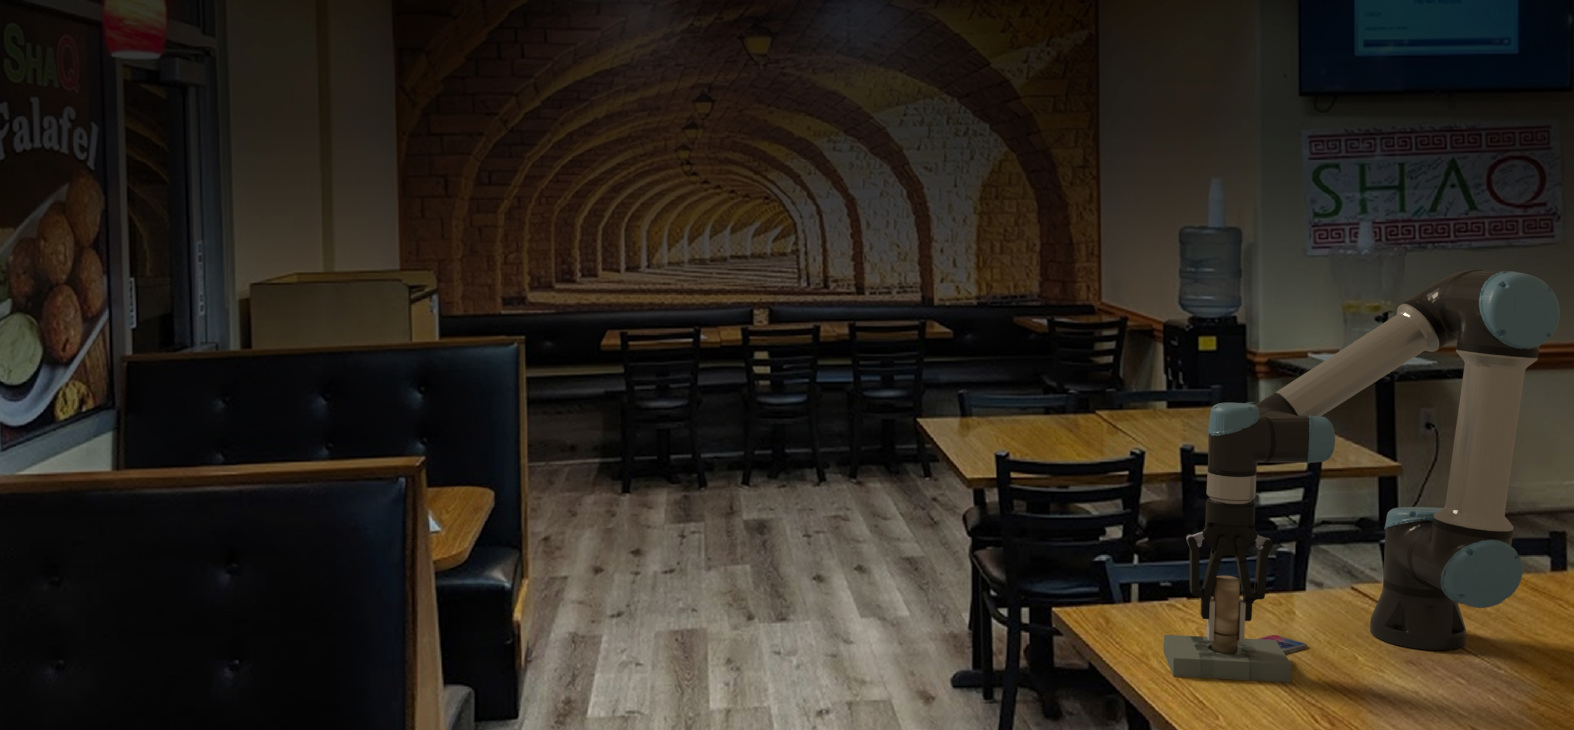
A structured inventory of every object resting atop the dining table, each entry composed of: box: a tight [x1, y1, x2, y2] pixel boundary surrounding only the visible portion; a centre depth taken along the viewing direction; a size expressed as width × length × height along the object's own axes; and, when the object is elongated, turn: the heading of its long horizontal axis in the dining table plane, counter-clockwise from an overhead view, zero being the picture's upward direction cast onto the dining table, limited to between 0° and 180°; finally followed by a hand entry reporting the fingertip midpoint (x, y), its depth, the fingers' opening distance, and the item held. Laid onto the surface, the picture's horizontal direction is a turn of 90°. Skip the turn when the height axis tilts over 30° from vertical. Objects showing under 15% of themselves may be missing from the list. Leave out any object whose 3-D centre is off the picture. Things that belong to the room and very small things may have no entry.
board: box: [1163, 634, 1292, 683], centre depth 209 cm, size 18×12×3 cm, turn 81°
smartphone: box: [1257, 634, 1308, 655], centre depth 217 cm, size 7×1×15 cm
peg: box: [1212, 575, 1241, 654], centre depth 208 cm, size 4×4×12 cm
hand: (1225, 638), depth 208 cm, fingers closed on peg, 4 cm apart
